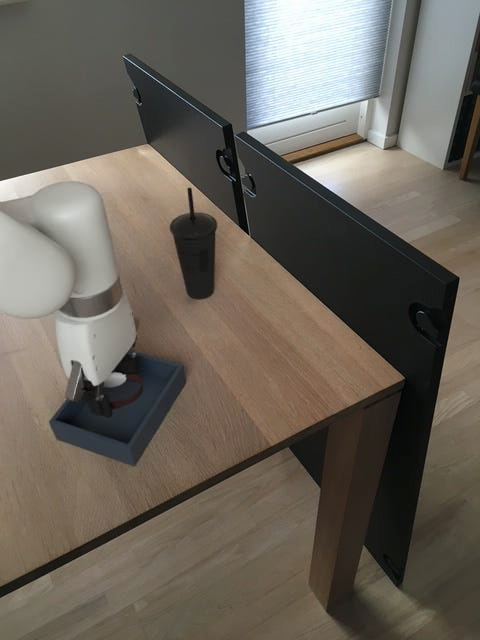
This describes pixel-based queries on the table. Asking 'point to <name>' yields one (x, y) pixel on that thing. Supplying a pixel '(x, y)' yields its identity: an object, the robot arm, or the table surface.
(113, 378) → the watch
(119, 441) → the tray
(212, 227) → the drinking cup
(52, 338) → the table surface
